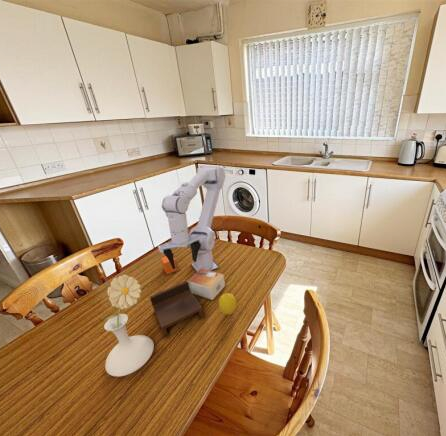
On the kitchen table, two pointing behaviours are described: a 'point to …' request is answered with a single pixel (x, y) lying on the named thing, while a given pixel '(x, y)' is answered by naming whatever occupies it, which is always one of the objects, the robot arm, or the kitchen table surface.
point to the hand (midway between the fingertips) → (184, 264)
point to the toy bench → (175, 305)
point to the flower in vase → (128, 346)
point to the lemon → (227, 304)
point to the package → (168, 265)
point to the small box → (206, 283)
